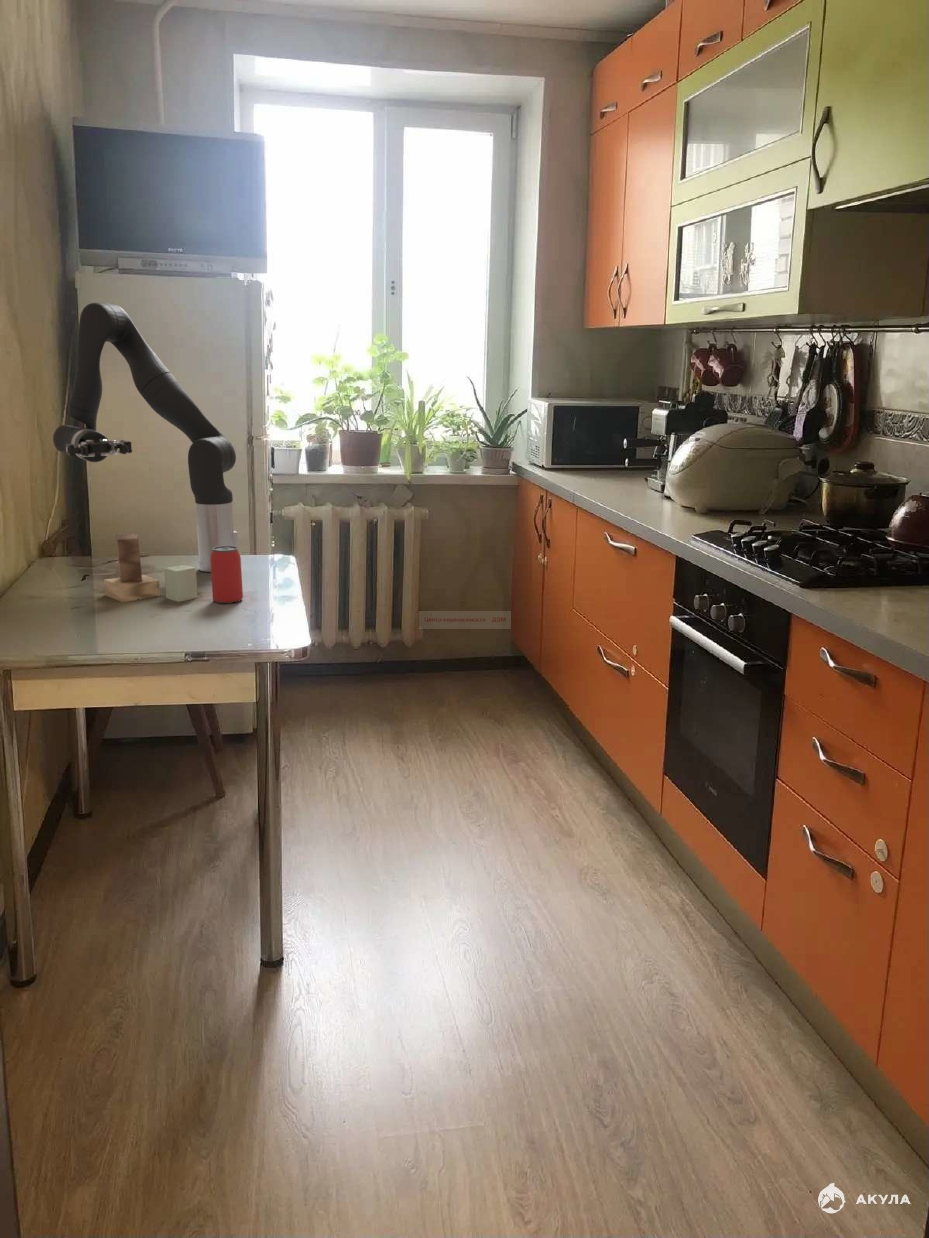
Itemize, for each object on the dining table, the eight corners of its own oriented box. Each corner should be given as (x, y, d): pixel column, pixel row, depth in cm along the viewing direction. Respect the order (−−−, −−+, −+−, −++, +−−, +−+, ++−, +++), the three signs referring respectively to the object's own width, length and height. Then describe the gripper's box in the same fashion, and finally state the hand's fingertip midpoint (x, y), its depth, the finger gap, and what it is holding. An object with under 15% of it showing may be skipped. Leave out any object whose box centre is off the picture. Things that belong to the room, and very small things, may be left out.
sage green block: (185, 594, 231) (183, 564, 229) (197, 597, 228) (195, 567, 226) (166, 598, 228) (163, 567, 226) (178, 601, 224) (176, 571, 223)
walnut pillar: (140, 576, 232) (136, 533, 229) (142, 581, 228) (138, 538, 225) (120, 578, 230) (115, 535, 227) (121, 583, 226) (117, 539, 223)
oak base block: (142, 590, 236) (141, 573, 235) (160, 597, 230) (159, 580, 229) (105, 596, 230) (103, 579, 229) (122, 604, 224) (121, 586, 223)
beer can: (246, 597, 228) (244, 545, 225) (237, 604, 222) (234, 551, 219) (218, 596, 229) (215, 545, 226) (208, 603, 223) (205, 550, 219)
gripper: (57, 431, 241) (72, 435, 227) (118, 428, 248) (135, 432, 235) (61, 462, 243) (75, 469, 229) (121, 459, 250) (138, 464, 237)
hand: (106, 450), depth 232 cm, fingers open, 8 cm apart
